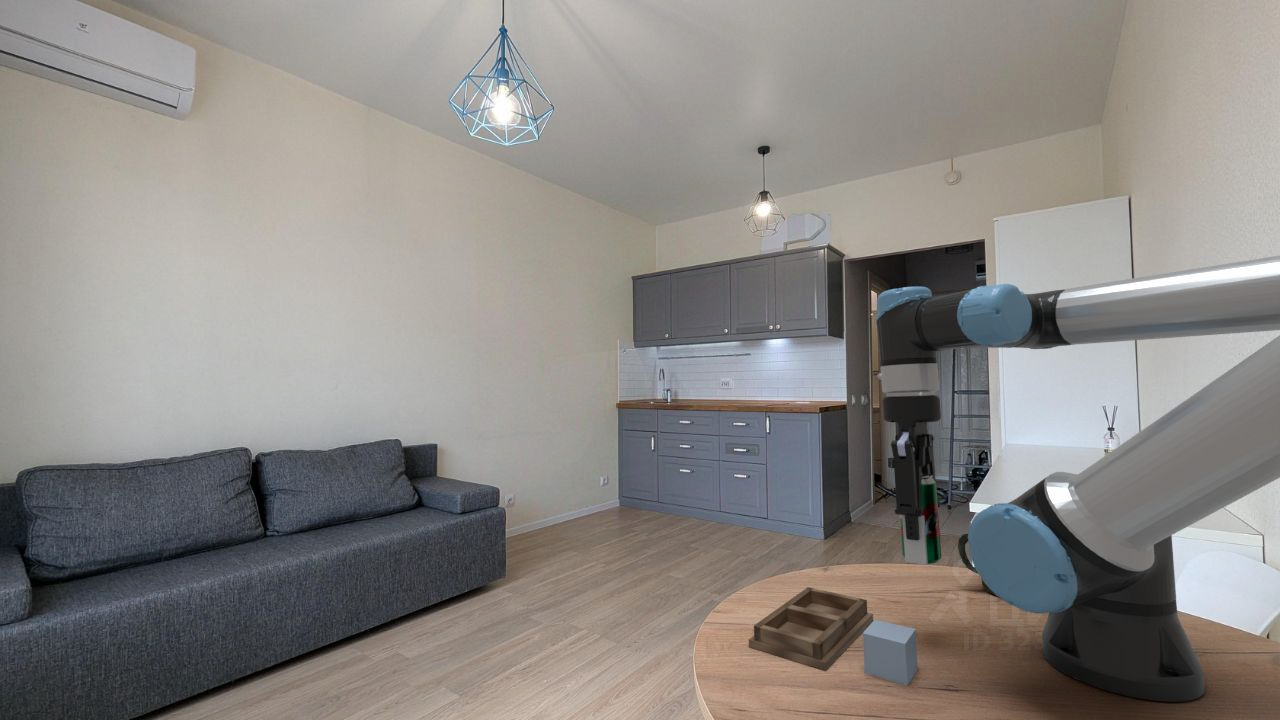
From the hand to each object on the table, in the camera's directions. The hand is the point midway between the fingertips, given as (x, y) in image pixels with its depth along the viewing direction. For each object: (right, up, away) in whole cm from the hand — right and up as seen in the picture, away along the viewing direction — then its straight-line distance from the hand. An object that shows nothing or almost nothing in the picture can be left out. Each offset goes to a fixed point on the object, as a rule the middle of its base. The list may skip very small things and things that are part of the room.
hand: (921, 557), depth 78 cm
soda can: (0, -1, 0) cm, 1 cm away
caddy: (-15, -12, +2) cm, 19 cm away
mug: (+23, -12, +16) cm, 30 cm away
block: (-8, -11, -9) cm, 17 cm away
